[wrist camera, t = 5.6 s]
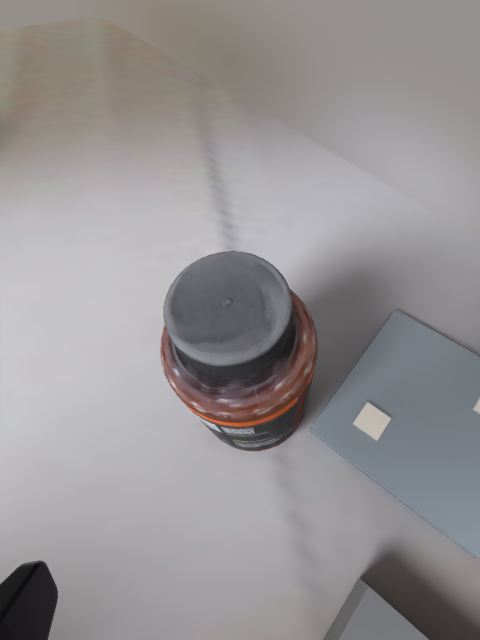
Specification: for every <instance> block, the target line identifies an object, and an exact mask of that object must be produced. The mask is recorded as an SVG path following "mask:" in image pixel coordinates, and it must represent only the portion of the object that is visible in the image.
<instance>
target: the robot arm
mask: <svg viewBox="0 0 480 640" xmlns="http://www.w3.org/2000/svg"><path fill="white" fill-rule="evenodd" d="M57 599H58V591H57V586H56V584H55V582H54V580H53V578H52V575H51V573H50V571H49V569H48V567H47V565H46V563H45V562H43V561H35V562H29V563H24V564H22V565H21V566H19V567H18V568H17V569H16V570H15V571H14V572H13V573H12V574H11V575H10V576H9V577H7V578H6V579H5V580H4V581H3V582H2V583H1V584H0V640H48V636H49V632H50V628H51V624H52V620H53V616H54V612H55V608H56V604H57Z"/></svg>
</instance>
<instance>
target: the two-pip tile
mask: <svg viewBox="0 0 480 640" xmlns="http://www.w3.org/2000/svg"><path fill="white" fill-rule="evenodd" d="M309 431H310V432H311V433H313V434H314V435H315V436H317V437H318V438H319V439H321V440H322V441H323V442H324V443H326V444H327V445H328V446H330V447H331V448H332V449H334V450H335V451H336V452H338V453H339V454H340V455H341V456H343V457H344V458H345V459H347V460H348V461H349V462H351V463H352V464H353V465H355V466H356V467H357V468H359V469H360V470H361V471H362V472H364V473H365V474H366V475H368V476H369V477H370V478H372V479H373V480H374V481H376V482H377V483H378V484H379V485H381V486H382V487H383V488H385V489H386V490H387V491H389V492H390V493H391V494H393V495H394V496H395V497H396V498H398V499H399V500H400V501H402V502H403V503H404V504H406V505H407V506H408V507H410V508H411V509H412V510H413V511H415V512H416V513H417V514H419V515H420V516H421V517H423V518H424V519H425V520H427V521H428V522H429V523H430V524H432V525H433V526H434V527H436V528H437V529H438V530H440V531H441V532H442V533H444V534H445V535H446V536H447V537H449V538H450V539H451V540H453V541H454V542H455V543H457V544H458V545H459V546H461V547H462V548H463V549H465V550H466V551H467V552H468V553H470V554H471V555H472V556H474V557H477V558H480V357H479V356H478V355H476V354H474V353H472V352H471V351H469V350H467V349H465V348H463V347H462V346H460V345H458V344H456V343H455V342H453V341H451V340H449V339H448V338H446V337H444V336H442V335H440V334H439V333H437V332H435V331H433V330H432V329H430V328H428V327H426V326H424V325H423V324H421V323H419V322H417V321H416V320H414V319H412V318H410V317H409V316H407V315H405V314H403V313H401V312H400V311H398V310H396V309H395V310H394V312H393V313H392V315H391V316H390V317H389V319H388V320H387V322H386V323H385V324H384V326H383V327H382V329H381V330H380V331H379V333H378V334H377V336H376V337H375V338H374V340H373V341H372V343H371V344H370V345H369V347H368V348H367V350H366V351H365V352H364V354H363V355H362V357H361V358H360V359H359V361H358V362H357V364H356V365H355V366H354V368H353V369H352V371H351V372H350V373H349V375H348V376H347V378H346V379H345V380H344V382H343V383H342V385H341V386H340V387H339V389H338V390H337V392H336V393H335V394H334V396H333V397H332V399H331V400H330V401H329V403H328V404H327V406H326V407H325V408H324V410H323V411H322V413H321V414H320V415H319V417H318V418H317V420H316V421H315V422H314V424H313V425H312V427H311V428H310V430H309Z"/></svg>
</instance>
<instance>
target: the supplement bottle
mask: <svg viewBox="0 0 480 640" xmlns="http://www.w3.org/2000/svg"><path fill="white" fill-rule="evenodd" d="M164 322H165V326H164V328H163V333H162V337H161V362H162V366H163V370H164V373H165V375H166V378H167V379H168V382H169V384H170V386H171V387H172V389H173V390H174V391H175V393H176V394H177V395H178V397H179V398H180V399H181V400H182V401H183V402H184V403H185V404H186V406H187V407H188V408H189V409H190V410H191V411H192V412H193V413H194V414H195V415H196V416H197V417H198V418H199V419H200V420H201V421H202V422H203V423H204V424H205V425H206V426H207V427H208V428H209V429H210V430H211V431H212V432H213V433H214V434H215V435H216V436H217V437H218V438H219V439H220V440H222V441H223V442H225V443H227V444H228V445H230V446H231V447H234V448H238V449H241V450H246V451H261V450H266V449H270V448H272V447H275V446H278V445H279V444H281V443H282V442H284V441H285V440H286V439H287V438H289V437H290V436H291V435H292V434H293V432H294V431H295V430H296V429H297V427H298V426H299V424H300V422H301V420H302V418H303V416H304V413H305V410H306V405H307V401H308V396H309V392H310V387H311V383H312V378H313V374H314V369H315V364H316V358H317V336H316V329H315V326H314V322H313V320H312V317H311V315H310V313H309V311H308V309H307V308H306V306H305V305H304V303H303V302H302V301H301V300H300V299H299V297H298V296H297V295H296V294H295V293H294V292H293V291H292V290H290V289H289V286H288V284H287V282H286V280H285V278H284V277H283V275H282V274H281V273H280V272H279V270H277V269H276V268H275V267H274V266H273V265H272V264H270V263H269V262H268V261H266V260H264V259H263V258H260V257H258V256H256V255H253V254H250V253H244V252H236V251H231V252H221V253H215V254H211V255H208V256H206V257H203V258H201V259H199V260H197V261H195V262H194V263H192V264H191V265H189V266H188V267H186V268H185V269H184V270H183V271H182V272H181V273H180V274H179V275H178V276H177V278H176V279H175V281H174V282H173V284H172V285H171V286H170V288H169V290H168V293H167V295H166V299H165V303H164Z"/></svg>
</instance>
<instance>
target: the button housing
mask: <svg viewBox="0 0 480 640" xmlns="http://www.w3.org/2000/svg"><path fill="white" fill-rule="evenodd" d="M324 640H429V639H428V638H427V637H426V636H425V635H423V634H422V633H421V632H420V631H419V630H418V629H417V628H416V627H414V626H413V625H412V624H411V623H410V622H409V621H408V620H407V619H405V618H404V617H403V616H402V615H401V614H400V613H399V612H397V611H396V610H395V609H394V608H393V607H392V606H391V605H390V604H388V603H387V602H386V601H385V600H384V599H383V598H382V597H381V596H379V595H378V594H377V593H376V592H375V591H374V590H373V589H371V588H370V587H369V586H368V585H367V584H366V583H365V582H364V581H362V580H361V579H360V578H359V579H358V581H357V583H356V585H355V586H354V588H353V590H352V592H351V593H350V595H349V597H348V598H347V600H346V602H345V604H344V605H343V607H342V609H341V611H340V612H339V614H338V616H337V618H336V619H335V621H334V623H333V625H332V626H331V628H330V630H329V632H328V633H327V635H326V637H325V638H324Z"/></svg>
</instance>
